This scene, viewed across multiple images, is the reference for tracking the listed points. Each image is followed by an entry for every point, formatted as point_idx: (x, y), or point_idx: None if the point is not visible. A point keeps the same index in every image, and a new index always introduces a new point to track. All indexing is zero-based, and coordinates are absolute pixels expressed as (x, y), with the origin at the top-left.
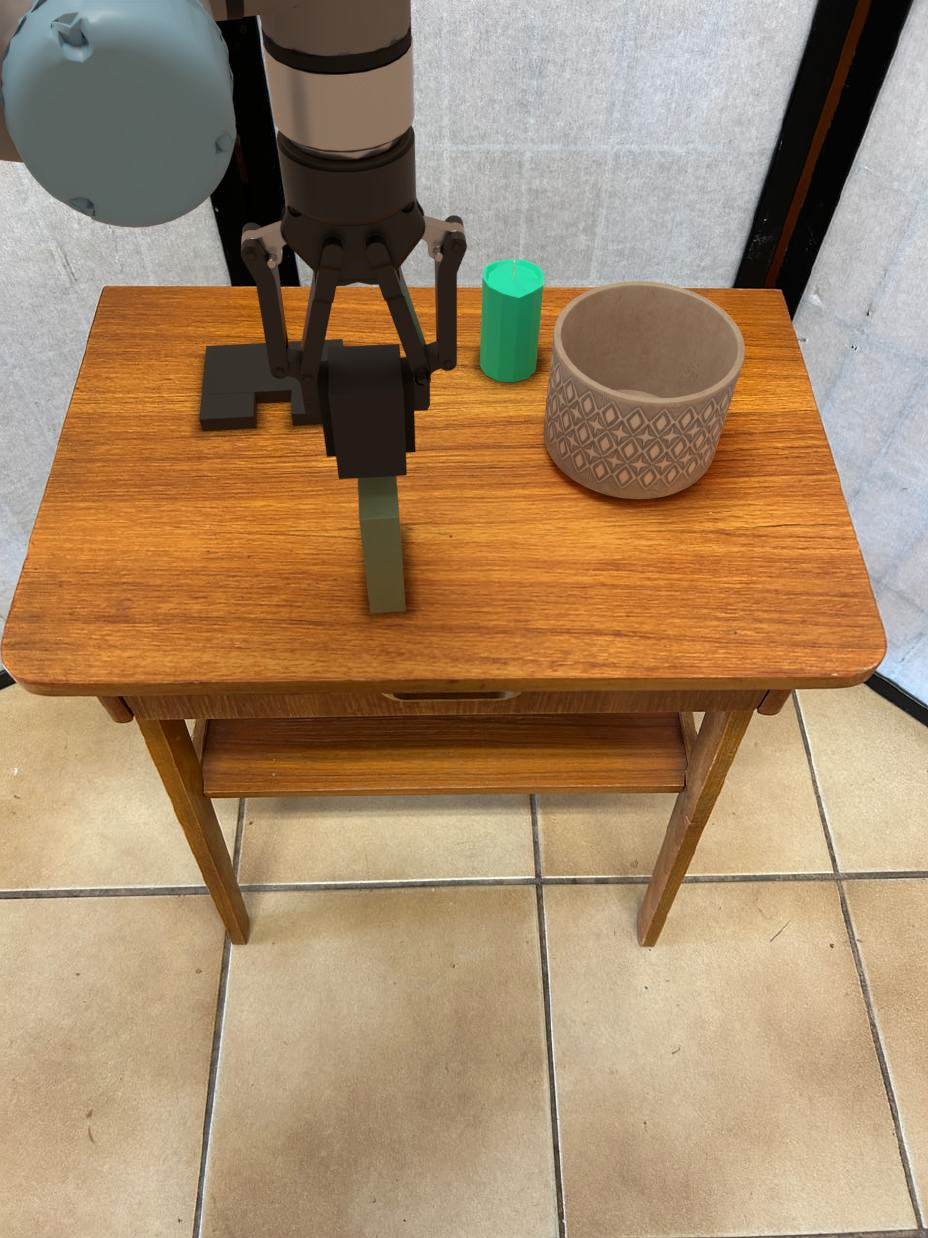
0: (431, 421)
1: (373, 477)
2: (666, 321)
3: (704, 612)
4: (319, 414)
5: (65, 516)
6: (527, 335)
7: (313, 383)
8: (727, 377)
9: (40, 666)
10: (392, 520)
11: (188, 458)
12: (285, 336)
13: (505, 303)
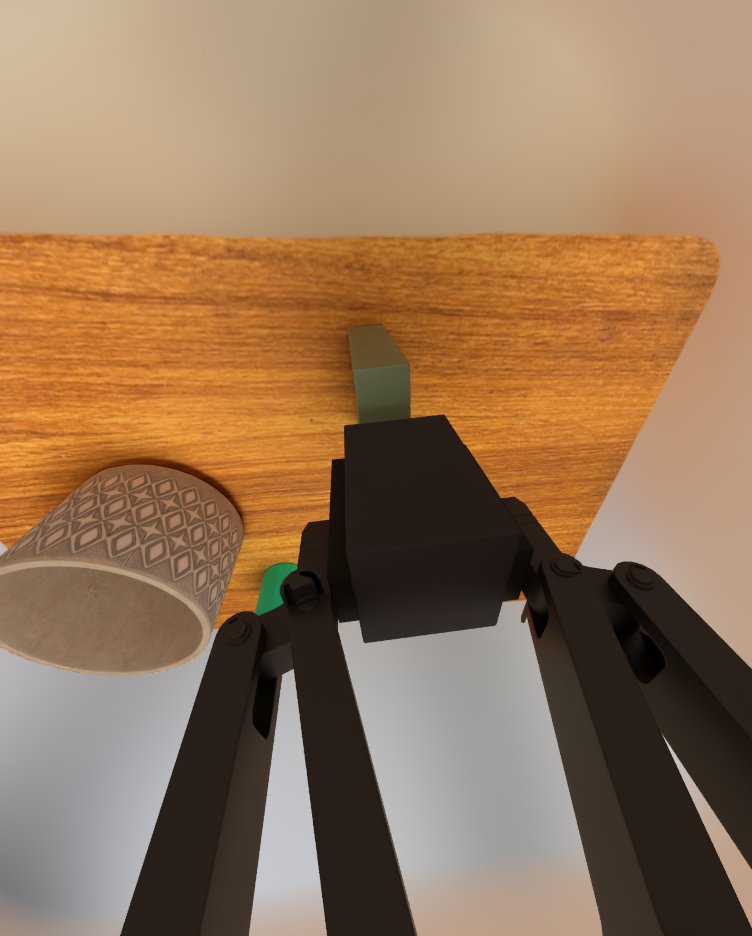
0: None
1: None
2: (119, 634)
3: (13, 329)
4: None
5: (629, 428)
6: (263, 604)
7: (545, 556)
8: None
9: (702, 252)
10: (362, 366)
11: (526, 485)
12: (662, 677)
13: None
